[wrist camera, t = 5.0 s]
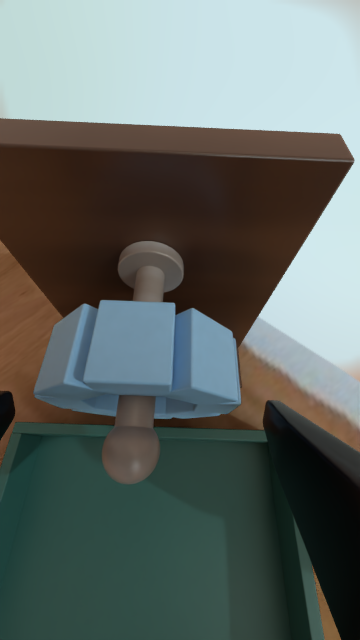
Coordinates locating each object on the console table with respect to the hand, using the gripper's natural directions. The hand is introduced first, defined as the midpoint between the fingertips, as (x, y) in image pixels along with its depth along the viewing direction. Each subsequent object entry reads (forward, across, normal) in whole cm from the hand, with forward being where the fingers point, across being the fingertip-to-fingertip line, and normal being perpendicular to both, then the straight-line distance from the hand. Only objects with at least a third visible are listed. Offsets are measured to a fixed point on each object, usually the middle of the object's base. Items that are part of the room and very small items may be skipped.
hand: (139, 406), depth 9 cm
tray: (+2, 0, +12) cm, 12 cm away
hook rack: (+9, 0, +5) cm, 10 cm away
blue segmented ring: (+1, 0, 0) cm, 1 cm away
